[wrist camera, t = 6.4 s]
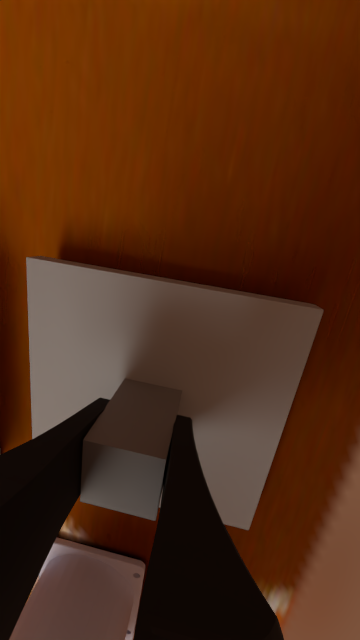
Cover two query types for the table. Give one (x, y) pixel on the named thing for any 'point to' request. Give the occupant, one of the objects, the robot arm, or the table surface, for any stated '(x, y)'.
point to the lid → (164, 378)
